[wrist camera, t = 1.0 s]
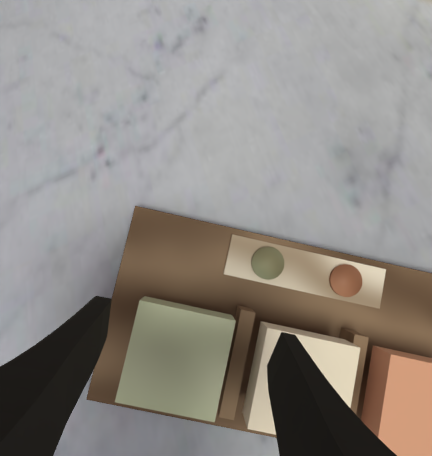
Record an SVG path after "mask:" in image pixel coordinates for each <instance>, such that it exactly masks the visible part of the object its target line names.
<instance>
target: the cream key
mask: <svg viewBox="0 0 432 456" xmlns="http://www.w3.org/2000/svg"><path fill="white" fill-rule="evenodd" d="M281 332H284V333H289V334H294V335H296V337H297V338H298V339H299V341H300V342H301V344H302V345H303V347H304V348H305V349H306V351H307V352H308V354H309V355H310V357H311V358H312V360H313V361H314V362H315V364H316V365H317V367H318V368H319V369H320V371H321V372H322V374H323V375H324V376H325V378H326V379H327V380H328V382H329V383H330V384H331V385H332V387H333V388H334V389H335V390H336V392H337V393H338V394H339V395H340V397H341V398H342V399H343V400H344V402H345V403H346V404H347V405H348V406H349V407H350V408H351V402H352V396H353V390H354V384H355V378H356V372H357V366H358V360H359V354H360V347H358V346H356V345H354V344H353V343H351V342H349V341H347V340H345V339H341V338H336V337H332V336H327V335H322V334H318V333H313V332H309V331H304V330H299V329H295V328H290V327H285V326H281V325H276V324H272V323H267V322H262V321H261V322H260V327H259V332H258V337H257V342H256V347H255V352H254V357H253V362H252V367H251V372H250V377H249V382H248V387H247V392H246V397H245V402H244V407H243V412H242V413H243V416H244V419H245V423H246V426H247V429H250V430H255V431H260V432H265V433H270V434H275V435H276V431H275V426H274V420H273V415H272V409H271V403H270V398H269V392H268V380H267V364H268V362H269V360H270V357H271V355H272V353H273V350H274V348H275V346H276V343H277V341H278V339H279V336H280V334H281Z"/></svg>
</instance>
